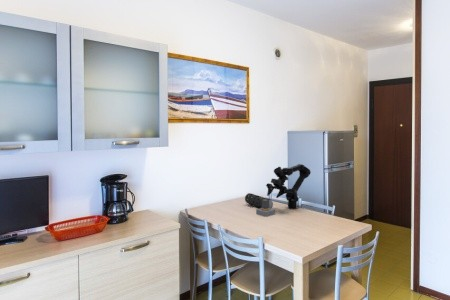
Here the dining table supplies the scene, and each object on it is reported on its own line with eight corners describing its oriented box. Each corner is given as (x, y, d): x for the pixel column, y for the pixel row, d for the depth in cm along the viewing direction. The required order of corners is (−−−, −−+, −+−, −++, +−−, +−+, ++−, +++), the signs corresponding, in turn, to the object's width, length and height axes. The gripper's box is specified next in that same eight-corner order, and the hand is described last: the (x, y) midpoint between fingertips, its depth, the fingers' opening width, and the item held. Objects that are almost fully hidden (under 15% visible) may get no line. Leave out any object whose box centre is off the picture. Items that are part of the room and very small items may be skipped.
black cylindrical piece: (253, 203, 273) (253, 192, 273) (273, 210, 249) (273, 198, 249) (244, 205, 269) (244, 193, 268) (264, 212, 244) (264, 199, 244)
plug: (265, 213, 239) (265, 199, 238) (269, 214, 236) (269, 199, 235) (261, 214, 236) (261, 199, 236) (265, 215, 233) (265, 200, 233)
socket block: (264, 212, 243) (264, 207, 243) (274, 215, 236) (274, 209, 235) (256, 215, 237) (256, 209, 237) (265, 218, 229) (266, 212, 229)
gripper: (267, 173, 250) (258, 188, 243) (286, 176, 236) (276, 192, 229) (273, 181, 255) (264, 197, 249) (292, 184, 241) (283, 201, 235)
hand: (272, 196), depth 240 cm, fingers open, 9 cm apart
